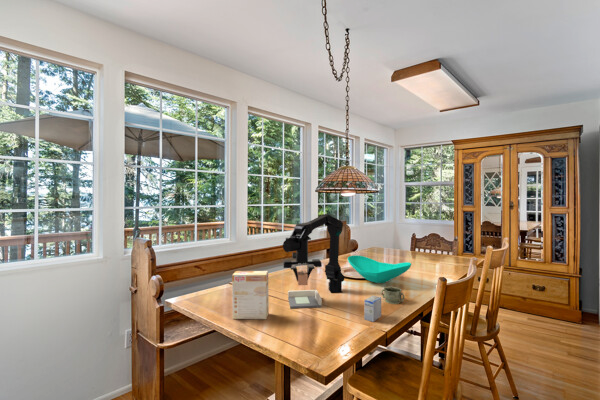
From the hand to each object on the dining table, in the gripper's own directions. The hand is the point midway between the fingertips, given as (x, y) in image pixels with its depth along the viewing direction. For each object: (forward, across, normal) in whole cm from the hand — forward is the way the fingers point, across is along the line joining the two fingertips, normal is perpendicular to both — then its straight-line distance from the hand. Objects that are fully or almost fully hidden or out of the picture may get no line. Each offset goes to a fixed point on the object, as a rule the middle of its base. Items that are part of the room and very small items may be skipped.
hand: (302, 280), depth 154 cm
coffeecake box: (+11, +25, +14) cm, 31 cm away
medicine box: (+11, -28, +23) cm, 38 cm away
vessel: (+11, -45, +4) cm, 47 cm away
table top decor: (+11, -50, -30) cm, 60 cm away
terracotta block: (+1, 0, 0) cm, 1 cm away
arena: (+11, -1, 0) cm, 11 cm away
